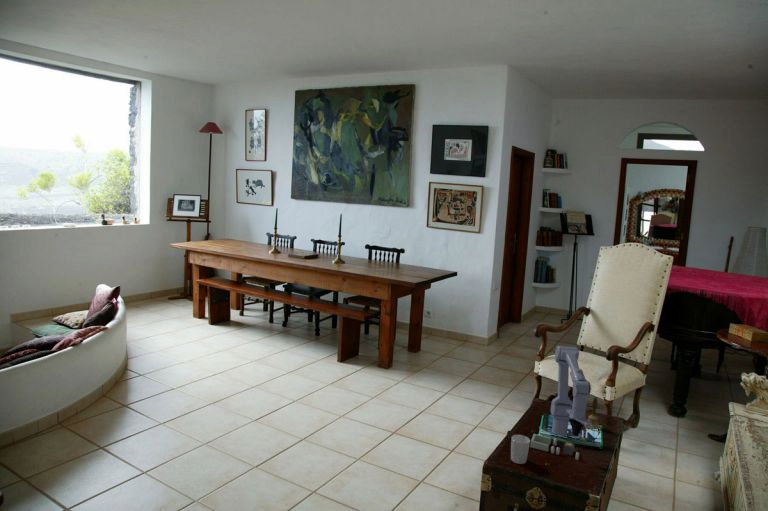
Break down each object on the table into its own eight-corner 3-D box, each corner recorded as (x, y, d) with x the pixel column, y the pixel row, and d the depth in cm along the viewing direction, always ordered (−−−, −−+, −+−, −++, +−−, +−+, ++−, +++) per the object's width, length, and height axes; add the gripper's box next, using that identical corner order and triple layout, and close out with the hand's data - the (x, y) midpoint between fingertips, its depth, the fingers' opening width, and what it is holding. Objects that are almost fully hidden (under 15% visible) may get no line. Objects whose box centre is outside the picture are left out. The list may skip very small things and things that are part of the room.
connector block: (564, 449, 244) (565, 441, 244) (573, 452, 243) (574, 443, 242) (563, 453, 241) (564, 445, 240) (572, 456, 239) (573, 447, 239)
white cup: (528, 466, 228) (530, 444, 227) (509, 463, 230) (511, 441, 228) (527, 457, 236) (529, 436, 234) (509, 454, 237) (511, 433, 236)
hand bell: (600, 432, 265) (604, 402, 262) (583, 428, 268) (587, 398, 265) (600, 425, 272) (604, 396, 270) (583, 421, 275) (587, 392, 273)
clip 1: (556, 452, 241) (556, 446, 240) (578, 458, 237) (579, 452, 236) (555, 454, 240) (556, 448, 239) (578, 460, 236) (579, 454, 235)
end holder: (533, 439, 252) (533, 433, 252) (550, 443, 249) (551, 437, 249) (530, 447, 245) (530, 441, 244) (547, 451, 241) (548, 445, 241)
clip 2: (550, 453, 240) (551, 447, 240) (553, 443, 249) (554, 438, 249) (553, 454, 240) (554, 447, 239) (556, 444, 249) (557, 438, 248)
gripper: (561, 400, 241) (558, 428, 243) (581, 414, 227) (577, 444, 229) (575, 399, 243) (571, 427, 245) (595, 413, 229) (591, 442, 231)
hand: (575, 435), depth 237 cm, fingers closed
